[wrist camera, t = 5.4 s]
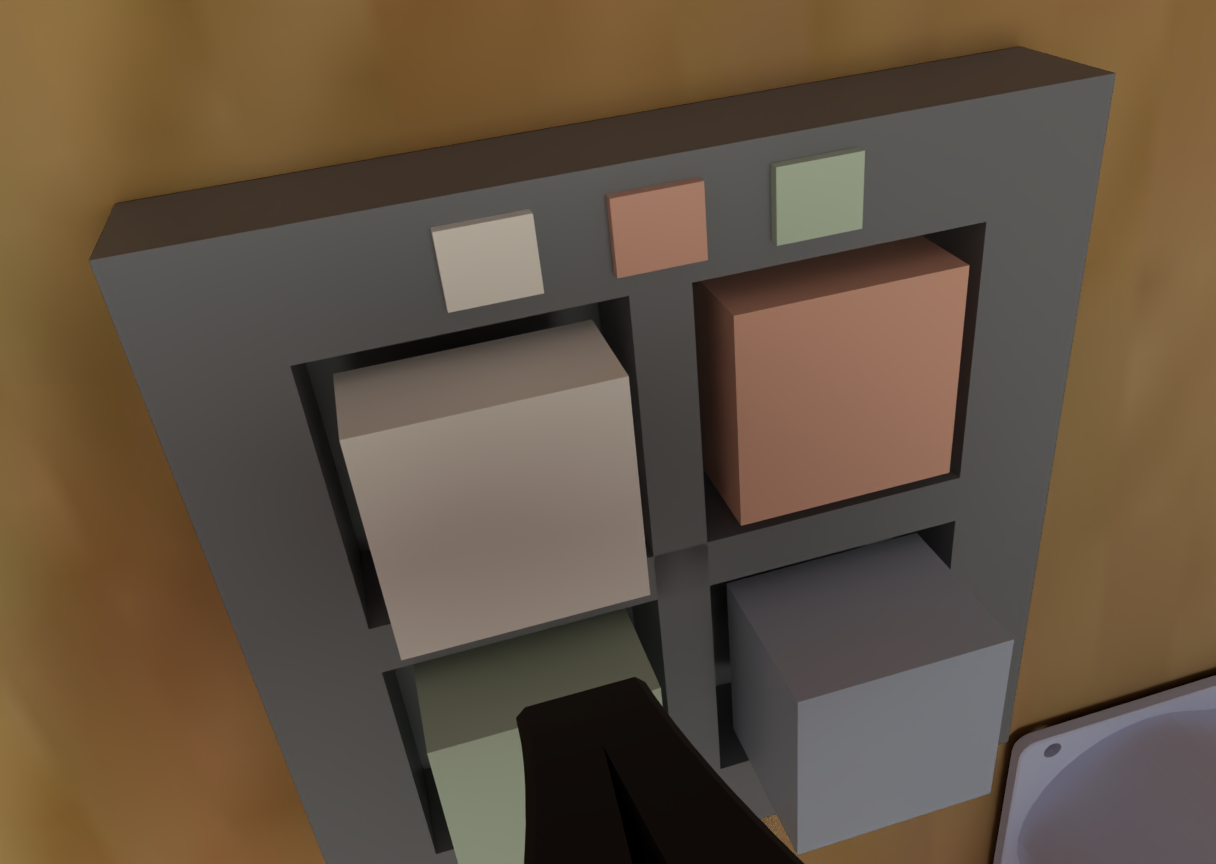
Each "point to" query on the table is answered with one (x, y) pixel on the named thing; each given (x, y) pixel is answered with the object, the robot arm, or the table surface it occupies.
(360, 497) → the key cream
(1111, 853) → the robot arm
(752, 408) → the key terracotta
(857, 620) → the key slate
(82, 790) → the table surface
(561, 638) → the key sage
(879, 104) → the keypad bezel
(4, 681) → the table surface
